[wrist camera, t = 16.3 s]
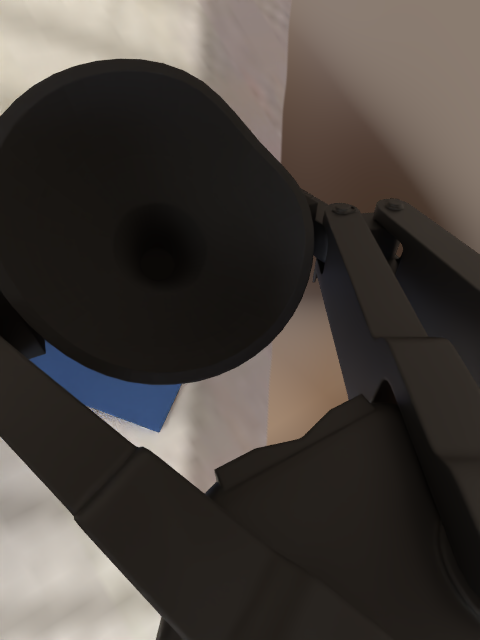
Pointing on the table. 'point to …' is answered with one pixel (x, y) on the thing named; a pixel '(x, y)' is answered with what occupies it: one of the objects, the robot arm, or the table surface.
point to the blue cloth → (109, 390)
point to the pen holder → (147, 224)
